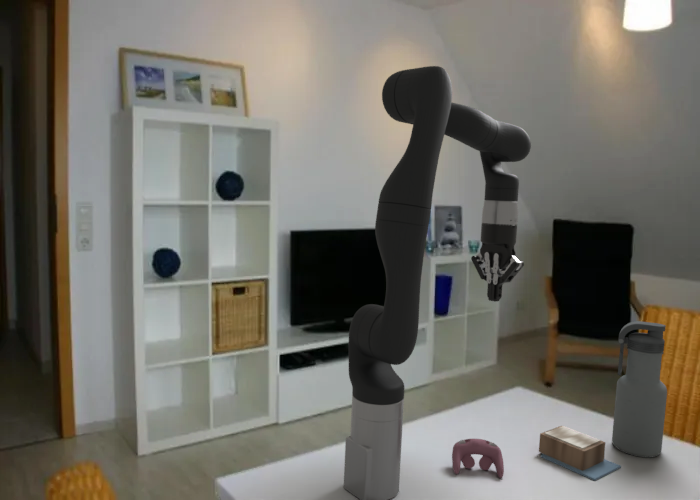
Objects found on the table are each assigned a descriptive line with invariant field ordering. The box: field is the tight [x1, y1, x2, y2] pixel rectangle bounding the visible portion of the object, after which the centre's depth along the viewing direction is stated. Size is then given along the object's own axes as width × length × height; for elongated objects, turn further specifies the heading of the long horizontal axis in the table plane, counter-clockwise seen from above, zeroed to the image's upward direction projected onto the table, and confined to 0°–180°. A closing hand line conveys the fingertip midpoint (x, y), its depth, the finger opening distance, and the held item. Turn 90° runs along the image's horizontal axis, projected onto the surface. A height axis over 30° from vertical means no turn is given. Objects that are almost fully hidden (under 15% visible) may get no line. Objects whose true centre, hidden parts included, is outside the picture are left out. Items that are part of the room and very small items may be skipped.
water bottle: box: [611, 320, 668, 458], centre depth 124 cm, size 10×10×28 cm
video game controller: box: [451, 438, 505, 479], centre depth 112 cm, size 10×5×7 cm, turn 85°
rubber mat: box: [540, 453, 622, 482], centre depth 117 cm, size 10×12×1 cm
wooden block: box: [538, 425, 606, 471], centre depth 119 cm, size 8×4×10 cm
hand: (494, 300), depth 125 cm, fingers closed
